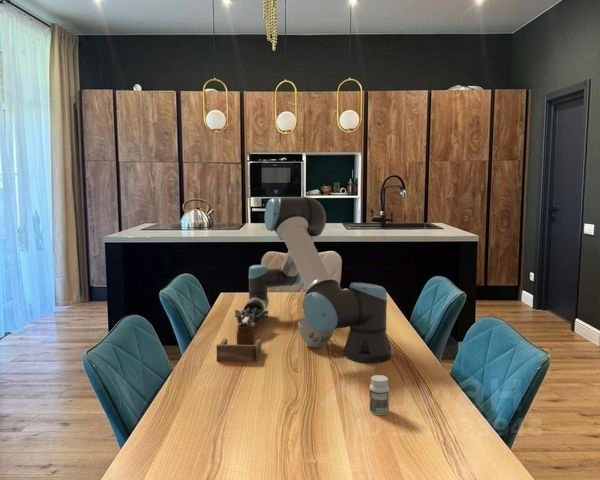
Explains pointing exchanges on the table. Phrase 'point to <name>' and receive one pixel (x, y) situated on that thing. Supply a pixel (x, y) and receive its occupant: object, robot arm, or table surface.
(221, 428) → the table surface
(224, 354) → the walnut corral
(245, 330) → the utensil holder
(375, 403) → the pill bottle
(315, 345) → the teacup
